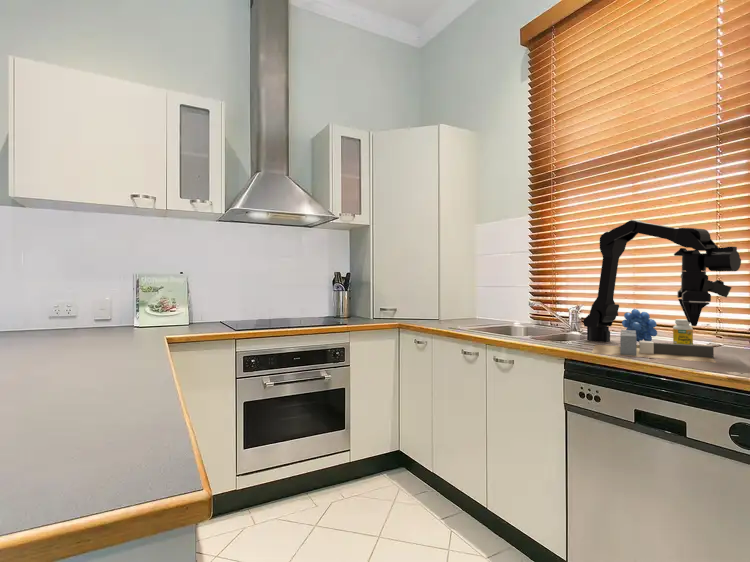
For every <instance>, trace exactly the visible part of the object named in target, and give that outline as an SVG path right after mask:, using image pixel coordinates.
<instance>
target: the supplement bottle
mask: <svg viewBox="0 0 750 562" xmlns="http://www.w3.org/2000/svg"><path fill="white" fill-rule="evenodd" d="M674 323H675V325H673V326H672V336H673V337H672V342H673V343H672V344H687V345H694V331H693V326H692V325H691V323H689V322H688V321H687V318H686V319H685V318H684V319H683V318H676V319H675V320H674Z"/></svg>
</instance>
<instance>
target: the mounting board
mask: <svg viewBox="0 0 750 562" xmlns="http://www.w3.org/2000/svg"><path fill="white" fill-rule="evenodd" d="M591 354H597V355H608V356H609V355H611V356H622V357H623V356H624V357H632V356H631V355H620V346H619V345H618V346H617V345H605V344H604V345H603V344H595V345H594V347H593V349H592V351H591ZM633 357H634V358H650V359H664V360H676V361H690V362H701V363H702V362H703V363H704V362H705V363H715V364H717V361H716V360H715V359H714V358H709V357H695V356H681V355H667V354H647V353H640V352H639V348H636V356H633Z"/></svg>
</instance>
